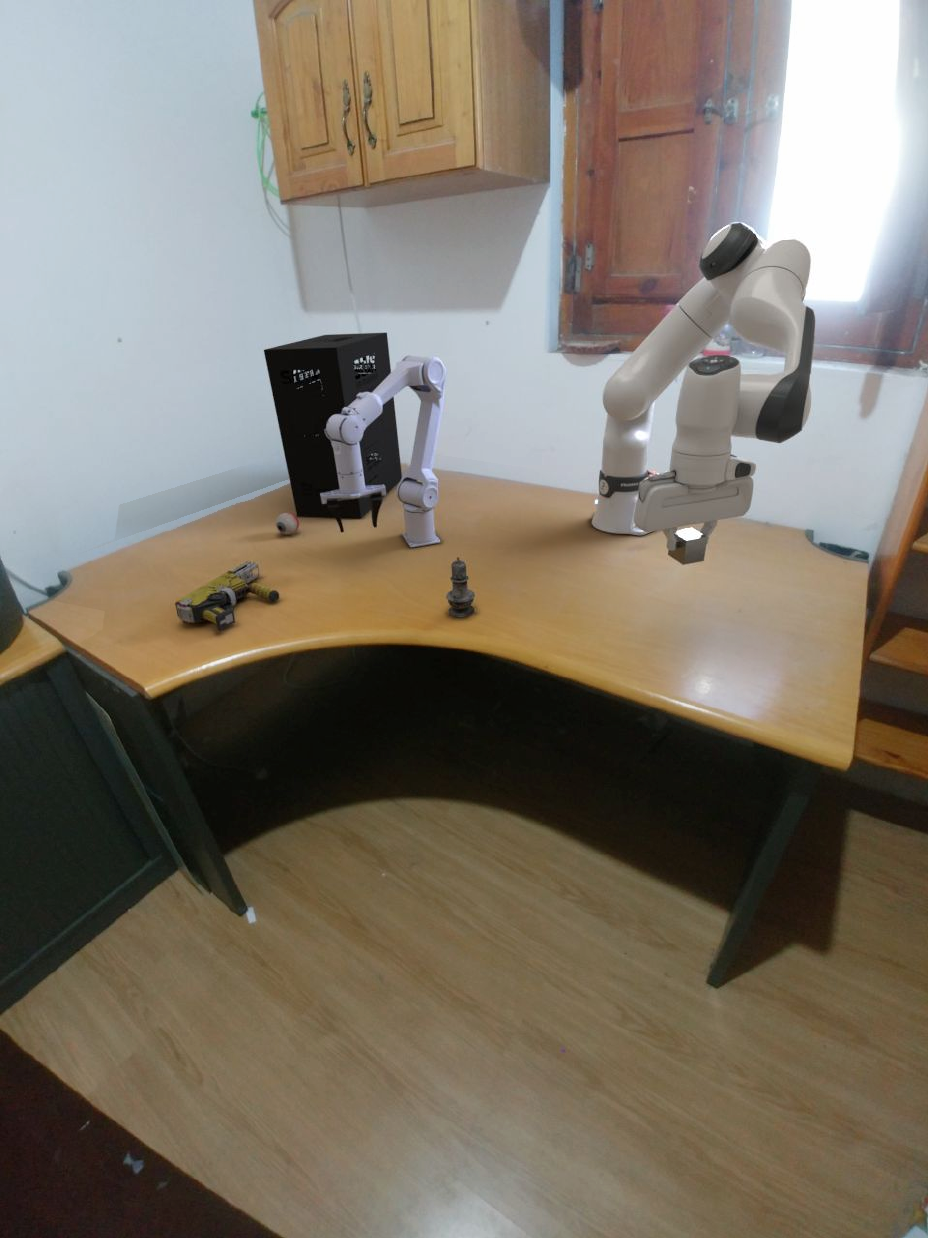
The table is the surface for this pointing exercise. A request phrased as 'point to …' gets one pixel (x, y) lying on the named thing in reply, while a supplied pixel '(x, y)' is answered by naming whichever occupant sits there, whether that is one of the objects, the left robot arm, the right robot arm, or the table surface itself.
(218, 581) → the toy gun
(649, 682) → the table surface
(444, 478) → the table surface
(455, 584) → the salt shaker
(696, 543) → the block
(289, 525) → the eyeball
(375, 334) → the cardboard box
